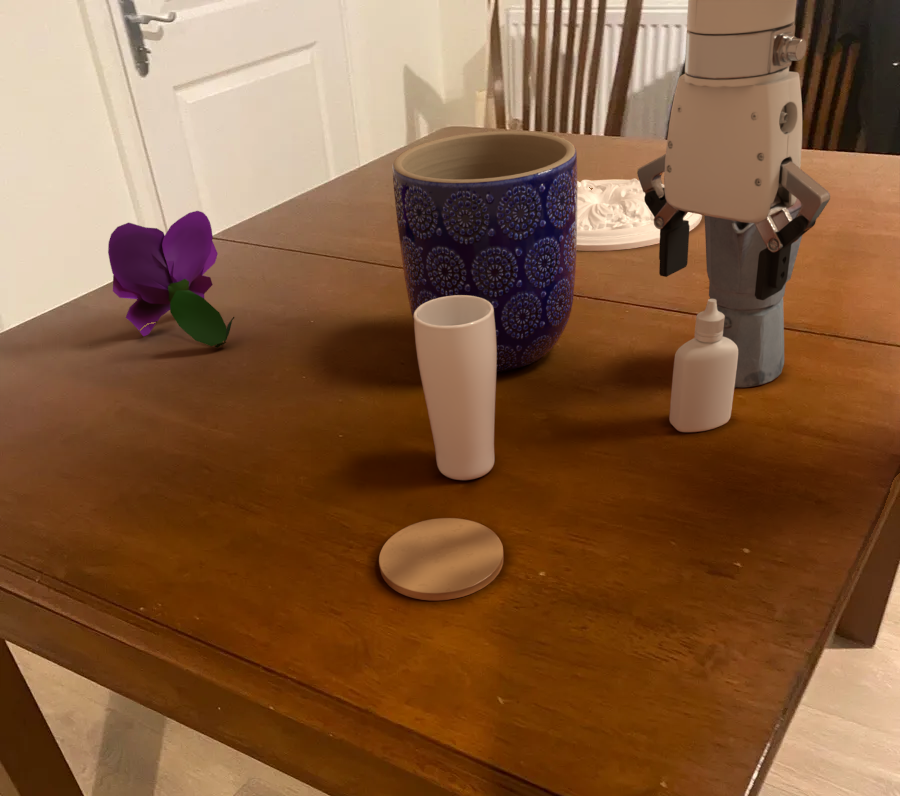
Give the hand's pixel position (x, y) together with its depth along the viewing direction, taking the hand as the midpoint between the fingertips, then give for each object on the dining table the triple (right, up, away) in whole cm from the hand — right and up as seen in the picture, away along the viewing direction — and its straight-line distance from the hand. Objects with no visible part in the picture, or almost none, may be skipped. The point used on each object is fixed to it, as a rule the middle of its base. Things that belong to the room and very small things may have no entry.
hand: (719, 282), depth 79 cm
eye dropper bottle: (+1, -10, +9) cm, 14 cm away
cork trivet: (-24, -24, -5) cm, 34 cm away
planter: (-18, +1, +25) cm, 31 cm away
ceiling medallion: (0, +29, +57) cm, 64 cm away
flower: (-54, +5, +35) cm, 65 cm away
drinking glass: (-22, -15, +6) cm, 27 cm away
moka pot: (+7, -3, +17) cm, 19 cm away
